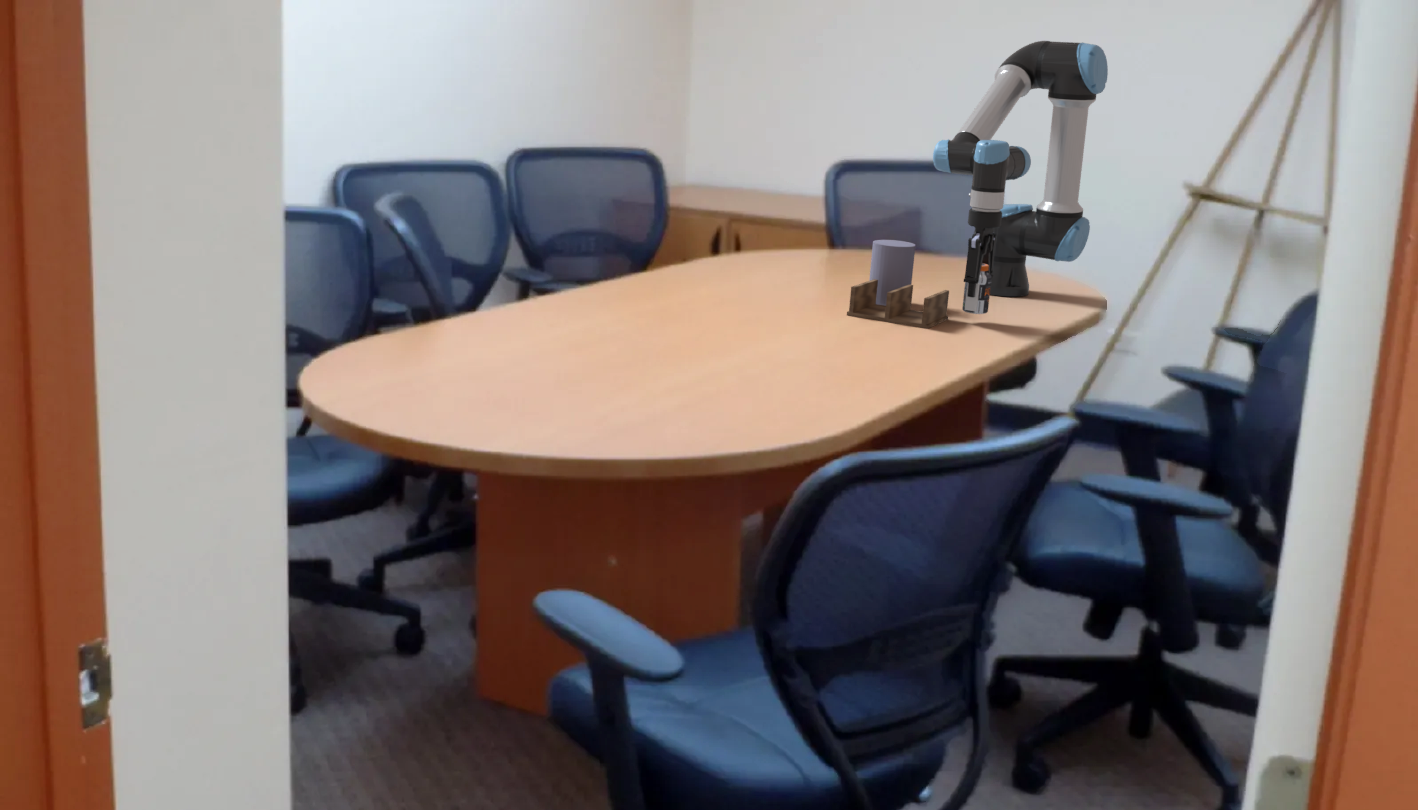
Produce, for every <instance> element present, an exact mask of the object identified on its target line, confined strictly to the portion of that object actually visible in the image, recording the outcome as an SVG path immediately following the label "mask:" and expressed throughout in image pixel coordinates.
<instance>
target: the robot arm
mask: <svg viewBox="0 0 1418 810" xmlns="http://www.w3.org/2000/svg"><path fill="white" fill-rule="evenodd" d="M1108 75H1109V72H1108V61H1107V56H1106V54H1105V51H1104V49H1103V48H1102V47H1101V46H1099V45H1097V44H1093V43H1086V42H1071V41H1070V42H1068V41H1067V42H1066V41H1051V40H1040V41H1039V40H1038V41H1034V42H1031V43H1029V44H1027V45H1024V46H1023V47H1020V48H1018V49H1017V50H1016V51H1014V52H1013V53H1012V54H1010V55H1009V56H1008V57H1007V58H1005V60H1004V61H1003V62H1002V63H1001V65H999V67H998V69H996V71H995V74H994V81H993V83H992V84H991V85H990V86H989V88H988V90H987V91H986V92H985V94H984V95H983V97H982V98H981V100H980V101H979V102H978V104H977V105H976V106H975V108H974V110H972V112H971V113H970V115H969V116H968V117H967V119H966V121H965V122H964V123H963V125H962V126H961V127H960V129H959V130H958V132H957V133H956V134H955V136H954V137H953V138H952V140H951V139H949V138H948V139H942V140H939V141H938V142H937V143H936V144H935V146H934V149H933V153H932V161H933V166H934V168H935V169H936V170H937V171H940V172H944V173H949V174H956V175H966V176H972V181H971V182H972V183H971V187H970V188H971V191H970V192H969V193H968V197H970V202H969V206H970V207H971V208H970V209H969V210H968V217H967V224H968V225H969V226H971V227H974V231H973V234H972V236H971V237H969V238H968V241H967V242H968V244H967V245H968V246H967V258H966V264H965V270H964V271H965V273H964V278H963V282H964V283H965V282H967V292H966V301H965V310H970V311H977V305H978V295H979V286H980V283H978V282H979V276H980V271H981V266H982V263H983V264H987V265H989V268H988V273H989V274H990V275H991V277H992V279H991V288H990V296H999V297H1025V296H1028V295H1029V292H1030V282H1029V277H1028V272H1027V268H1026V262H1027V257H1032V258H1033V257H1034V258H1039V259H1046V260H1052V261H1056V262H1065V263H1066V262H1068V263H1069V262H1073V261H1076V259H1078V258H1080V256H1081V254H1082V253H1083V251H1084V249H1085V247H1086V246H1087V245H1086V244H1087V242H1088V239H1089V235H1090V230H1091V225H1090V220H1089V219H1088V218H1087V217H1085V216H1083V215H1084V208H1083V207H1082V206H1081V205H1080V203H1079V195H1080V189H1081V188H1080V186H1081V178H1082V171H1083V170H1082V169H1083V162H1084V161H1083V160H1084V151H1085V150H1084V149H1085V145H1086V144H1085V142H1086V133H1087V125H1088V116H1089V108H1090V106H1092V104H1093V103H1094V102H1096V100H1097V95H1098V94H1101V93H1103V92H1104V90H1105V88H1106V84H1107V82H1108ZM1036 89H1042V90H1048V93H1047V94H1048V95H1047V99H1048V100H1049V101H1050V102H1051V104H1052V114H1051V115H1052V116H1051V125H1050V132H1049V133H1050V134H1049V143H1048V144H1049V145H1048V151H1047V152H1048V153H1047V163H1046V173H1045V182H1044V193H1043V200H1042V201H1040V202H1039V204H1037V205H1036V208H1035V209H1036V210H1034V208H1033V205H1032V204H1029V203H1008V204H1005V202H1004V201H1005V193H1006V191H1005V189H1006V183H1007V181H1010V180H1013V181H1014V180H1017V179H1020V178H1022V177H1024V176H1025V175H1026V174H1027V173H1028V172H1029V170H1030V168H1031V165H1032V164H1031V163H1032V159H1031V156H1030V154H1029V151H1027V149H1025V148H1024V147H1022V146H1019V145H1018V146H1016V145H1010V144H1009V143H1008V142H1007V141H1004V140H998V139H993V138H994V136H995V134H996V133H997V131H998V130H999V128H1000V127H1001V125H1002V124H1003V123H1004V121H1005V120H1006V118H1007V117H1008V115H1009V114H1010V113H1011V112H1012V110H1013V109H1014V107H1015V105H1016V104H1017V103H1018V102H1019V99H1021V98H1023V97H1025V96H1027V95H1028V94H1029V93H1030V91H1031V90H1036ZM972 276H973V277H972Z"/></svg>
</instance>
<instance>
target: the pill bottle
mask: <svg viewBox="0 0 1418 810" xmlns="http://www.w3.org/2000/svg"><path fill="white" fill-rule="evenodd" d="M988 268H989V265H987V264H983V263H982V266H981V271H980V276H979V282H978V283H980V286H979V295H978V305H977V311H970V310H965V301H966V292H967V282H964V290H963V297H962V298H963V299H962V311H963V312H965V313H968V314H973V315H974V314H975V315H984V314H987V313H988V312H989V305H990V297H991V295H990V288H991V279H992V277H991V275H990V274H989V273H988ZM972 277H973V276H972Z"/></svg>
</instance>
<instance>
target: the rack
mask: <svg viewBox="0 0 1418 810" xmlns="http://www.w3.org/2000/svg"><path fill="white" fill-rule="evenodd" d="M877 287H878V280H877V279H873V280H870V281H869V280H868V281H865V282H861V283H859V284H856V285H852V286H850V294H849V295H850V296H849V307H848V308H849V309H848V311H846V316H850V317H856V318H862V319H868V320H874V321H879V322H886V323H891V324H897V325H898V324H899V325H903V326H910V327H916V328H922V329H931V328H932V327H934V326H937V325H938V324H941V323H943V322H946V321H947V320H949V315H947V313H948V306H949V304H948V303H949V295H950V290H947V289H943V290H941V291H939V292H937V293H934V294H932V295H929V296H927V297H924V299H923V306H922V307H923V308H922V311H919V310H916V309H915V310H913V309H912V301H913V292H914V284H911V285H907V286H904V287H901V288H898V289H896V290H893V291H890V292H887V300H886V306H884V305H878V304H876V297H877Z"/></svg>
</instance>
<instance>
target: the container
mask: <svg viewBox="0 0 1418 810" xmlns="http://www.w3.org/2000/svg"><path fill="white" fill-rule="evenodd" d="M915 253H916V244H915V243H914V242H908V241H904V240H897V239H896V240H895V239H876V240H873V241H872V249H871V261H870V269H869V279H868V281H870V280H873V279H877V280H878V287H877V297H876V304H878V305H884V306H886V300H887V292H890V291H893V290H896V289H898V288H901V287H904V286H907V285H913V284H912V283H913V274H914V264H915V263H914V262H915Z"/></svg>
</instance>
